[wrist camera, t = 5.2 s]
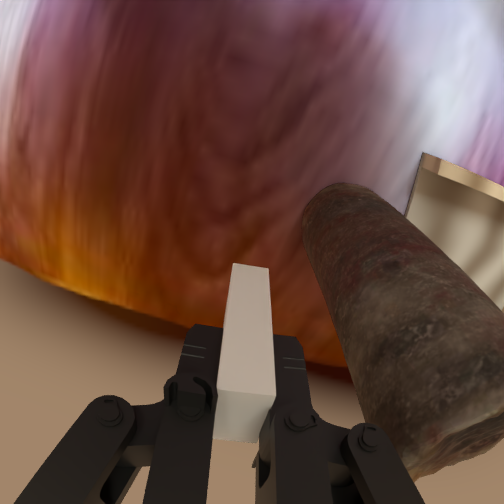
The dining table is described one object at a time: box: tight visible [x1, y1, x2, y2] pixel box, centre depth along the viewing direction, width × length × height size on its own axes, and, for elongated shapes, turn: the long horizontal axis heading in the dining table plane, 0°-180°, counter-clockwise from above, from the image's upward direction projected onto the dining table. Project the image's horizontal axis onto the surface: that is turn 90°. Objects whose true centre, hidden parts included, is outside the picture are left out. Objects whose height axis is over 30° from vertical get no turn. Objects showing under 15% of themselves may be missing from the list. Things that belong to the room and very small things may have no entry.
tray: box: [404, 153, 504, 313], centre depth 24 cm, size 21×15×3 cm
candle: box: [302, 183, 504, 482], centre depth 15 cm, size 8×7×20 cm
